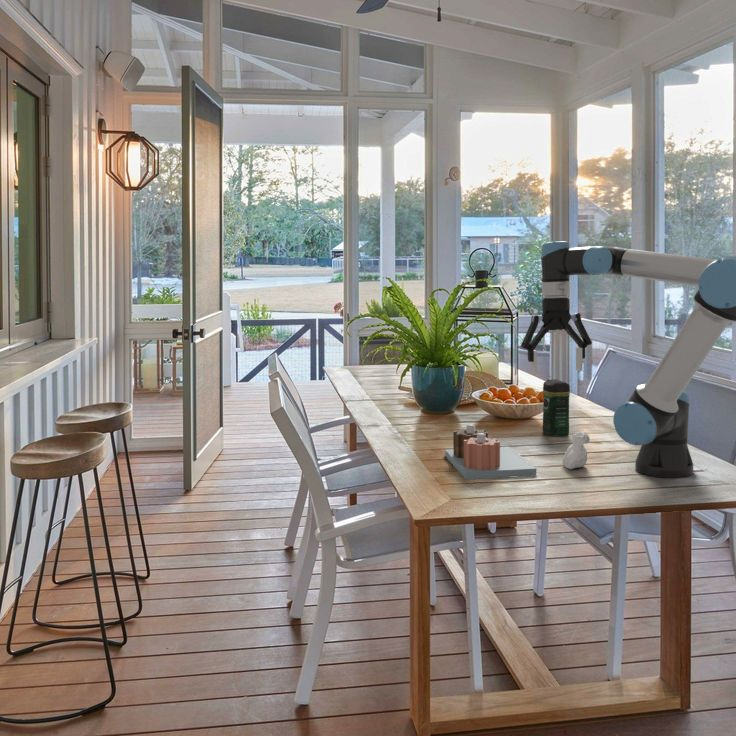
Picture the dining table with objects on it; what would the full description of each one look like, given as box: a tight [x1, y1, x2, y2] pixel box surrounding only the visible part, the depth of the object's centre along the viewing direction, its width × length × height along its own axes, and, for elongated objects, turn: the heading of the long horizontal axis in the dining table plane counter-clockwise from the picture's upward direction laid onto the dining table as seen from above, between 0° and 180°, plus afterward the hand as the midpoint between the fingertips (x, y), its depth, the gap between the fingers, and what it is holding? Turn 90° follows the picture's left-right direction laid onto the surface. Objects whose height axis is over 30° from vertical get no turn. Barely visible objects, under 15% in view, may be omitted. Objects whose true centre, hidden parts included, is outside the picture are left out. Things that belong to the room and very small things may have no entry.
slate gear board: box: [444, 424, 537, 480], centre depth 229 cm, size 26×20×11 cm
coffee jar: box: [542, 378, 571, 437], centre depth 267 cm, size 10×8×19 cm
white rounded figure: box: [561, 430, 591, 470], centre depth 226 cm, size 12×8×11 cm
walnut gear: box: [452, 428, 489, 458], centre depth 234 cm, size 10×10×7 cm
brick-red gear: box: [464, 437, 501, 470], centre depth 222 cm, size 10×10×7 cm
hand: (556, 371), depth 226 cm, fingers open, 13 cm apart
